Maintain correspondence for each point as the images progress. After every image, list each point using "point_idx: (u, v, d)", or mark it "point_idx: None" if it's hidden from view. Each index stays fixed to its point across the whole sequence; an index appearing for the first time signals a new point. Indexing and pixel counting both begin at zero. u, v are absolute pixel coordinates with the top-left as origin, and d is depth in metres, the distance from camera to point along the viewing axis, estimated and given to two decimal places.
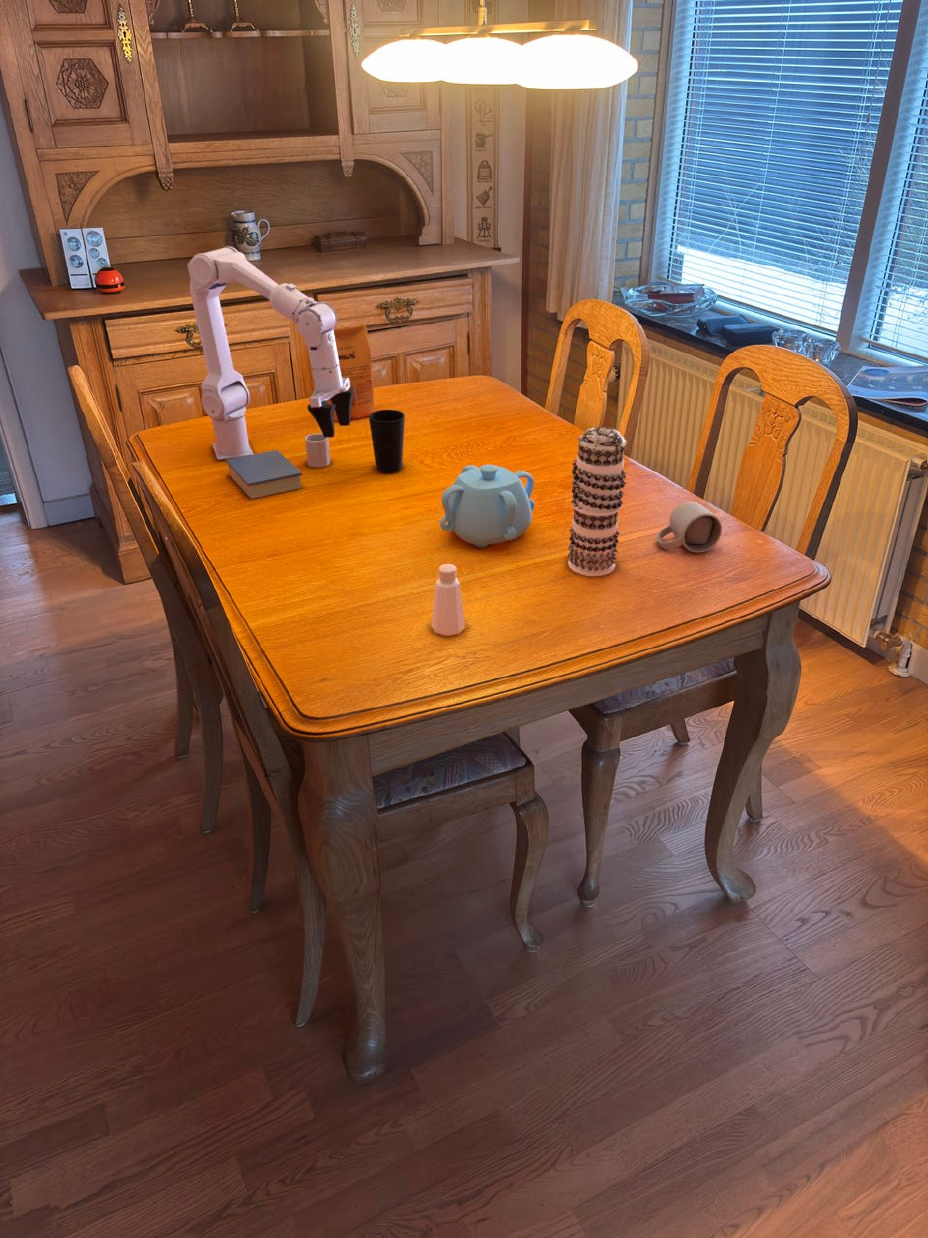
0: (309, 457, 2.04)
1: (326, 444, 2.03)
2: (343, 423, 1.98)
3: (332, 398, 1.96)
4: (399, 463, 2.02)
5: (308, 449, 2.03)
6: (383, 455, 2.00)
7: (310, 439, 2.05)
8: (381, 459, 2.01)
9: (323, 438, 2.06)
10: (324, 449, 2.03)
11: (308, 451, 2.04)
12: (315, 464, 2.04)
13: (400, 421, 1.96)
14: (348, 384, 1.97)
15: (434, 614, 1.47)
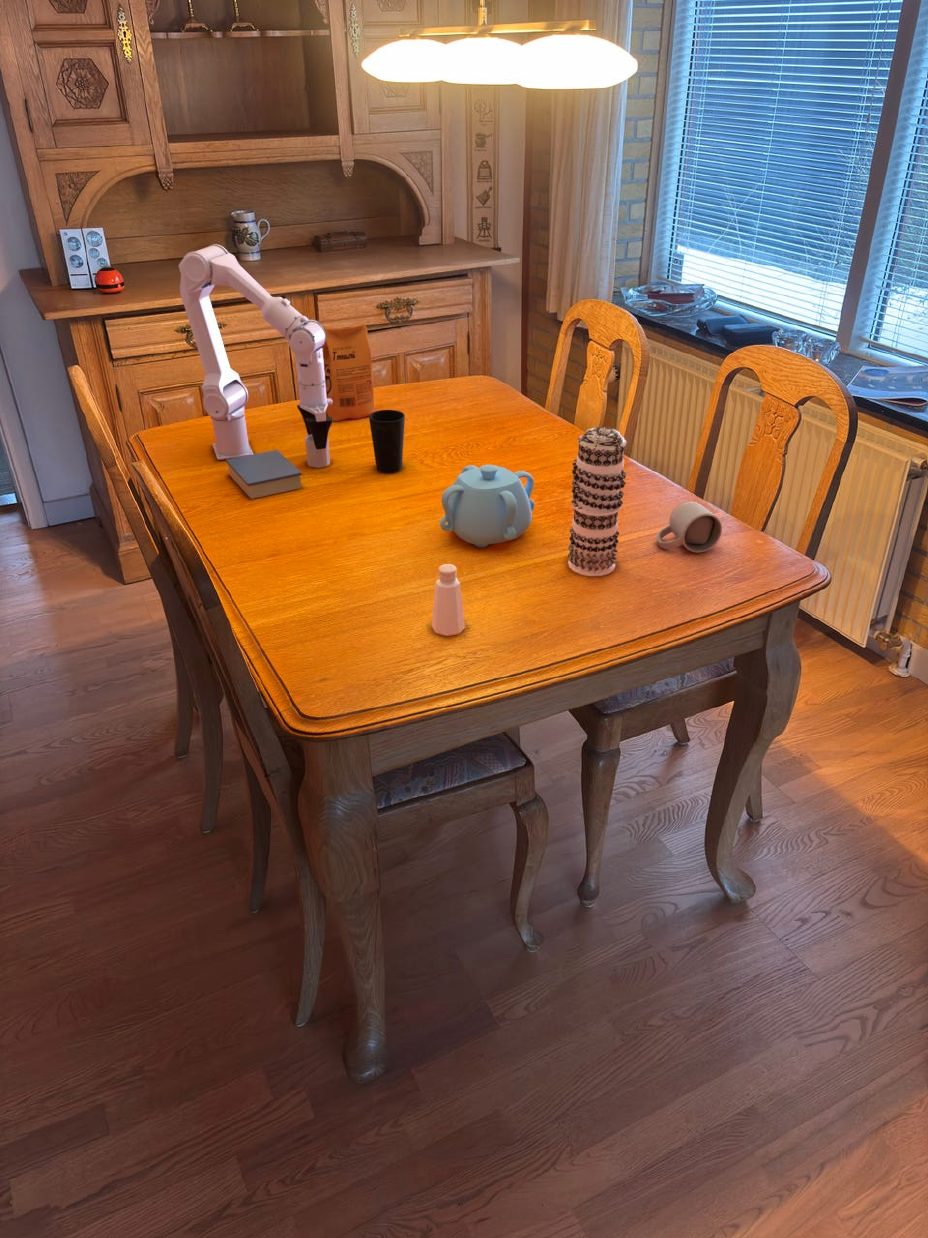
0: (309, 457, 2.04)
1: None
2: None
3: (303, 412, 2.04)
4: (399, 463, 2.02)
5: (308, 449, 2.03)
6: (383, 455, 2.00)
7: (310, 439, 2.05)
8: (381, 459, 2.01)
9: None
10: (324, 449, 2.03)
11: (308, 451, 2.04)
12: (315, 464, 2.04)
13: (400, 421, 1.96)
14: None
15: (434, 614, 1.47)
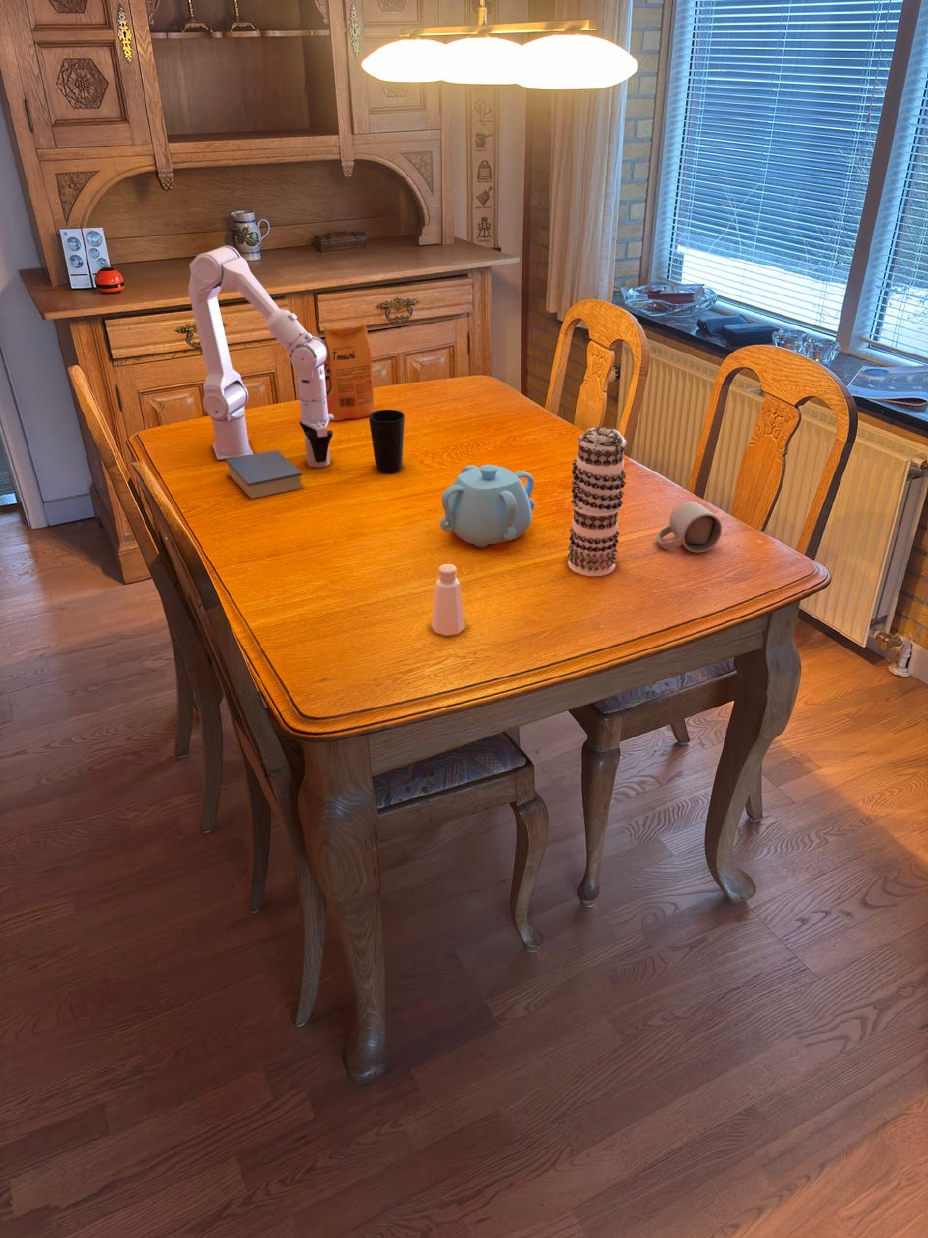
0: (309, 457, 2.04)
1: None
2: None
3: (305, 428, 2.05)
4: (399, 463, 2.02)
5: (308, 449, 2.03)
6: (383, 455, 2.00)
7: None
8: (381, 459, 2.01)
9: None
10: None
11: (308, 451, 2.04)
12: (315, 464, 2.04)
13: (400, 421, 1.96)
14: None
15: (434, 614, 1.47)
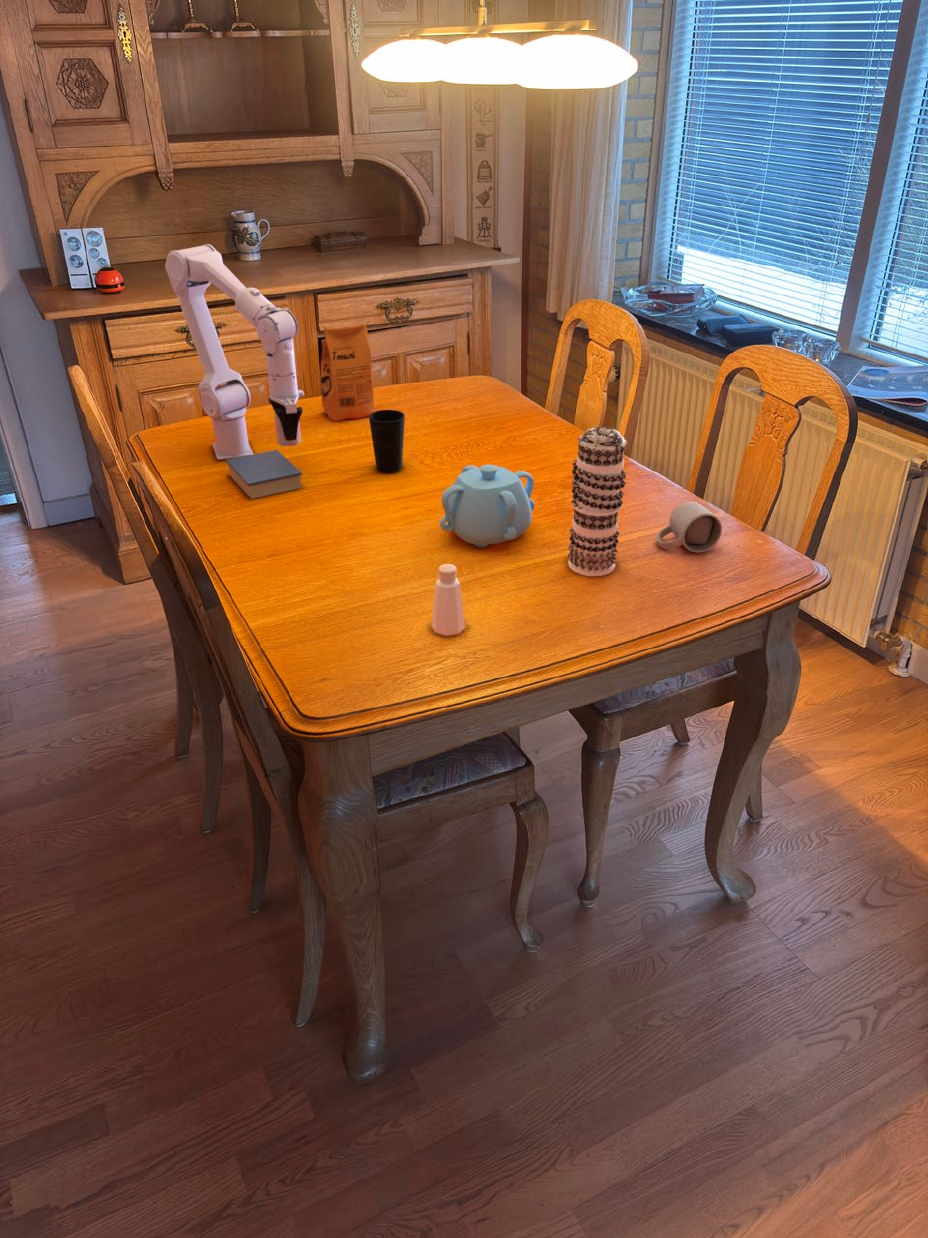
0: (279, 435, 1.96)
1: None
2: None
3: (274, 405, 1.97)
4: (399, 463, 2.02)
5: (278, 427, 1.95)
6: (383, 455, 2.00)
7: None
8: (381, 459, 2.01)
9: None
10: None
11: (278, 429, 1.96)
12: (285, 442, 1.97)
13: (400, 421, 1.96)
14: None
15: (434, 614, 1.47)
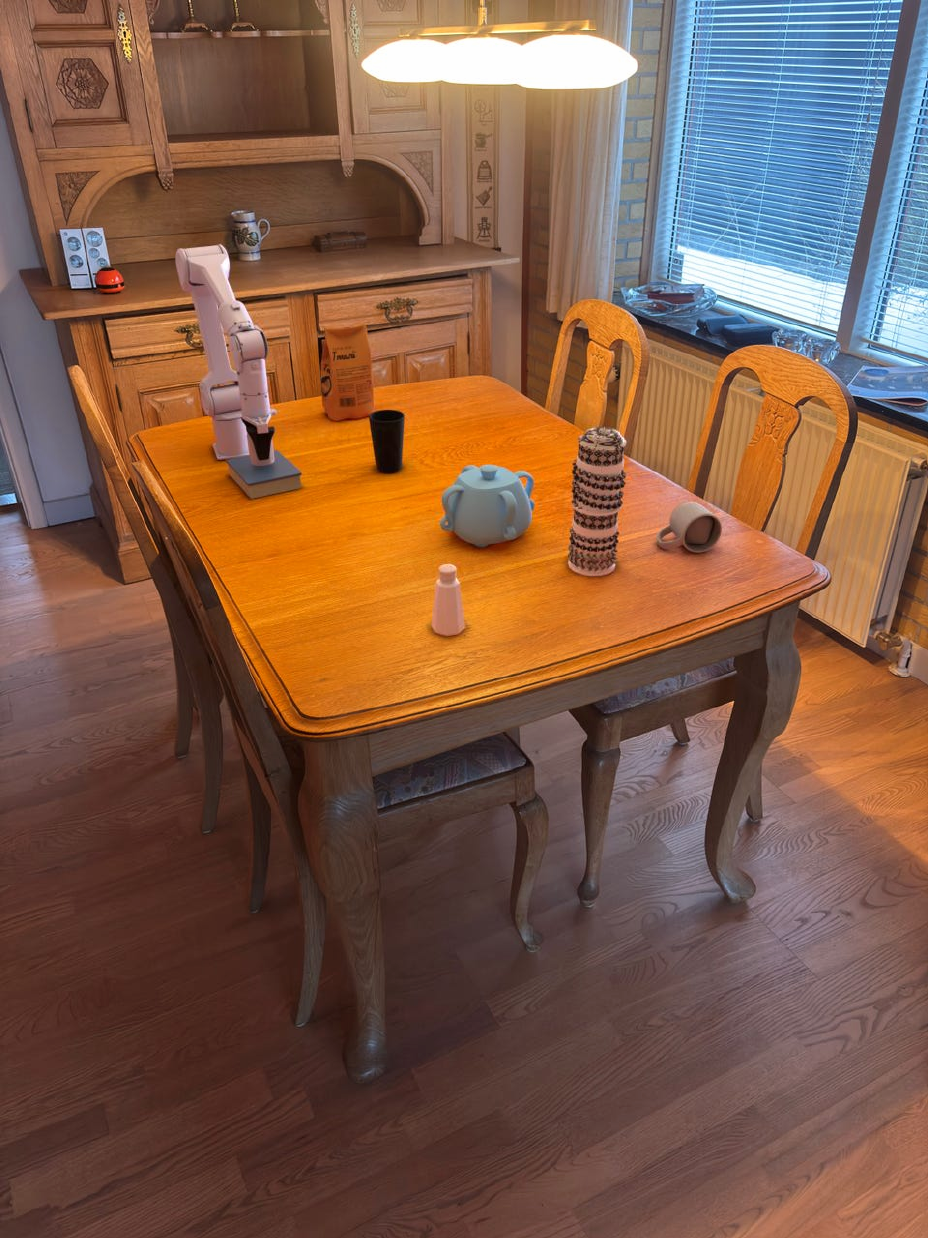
0: (251, 455, 1.93)
1: None
2: None
3: (247, 424, 1.94)
4: (399, 463, 2.02)
5: (250, 446, 1.92)
6: (383, 455, 2.00)
7: None
8: (381, 459, 2.01)
9: None
10: None
11: (250, 448, 1.93)
12: (258, 462, 1.93)
13: (400, 421, 1.96)
14: None
15: (434, 614, 1.47)
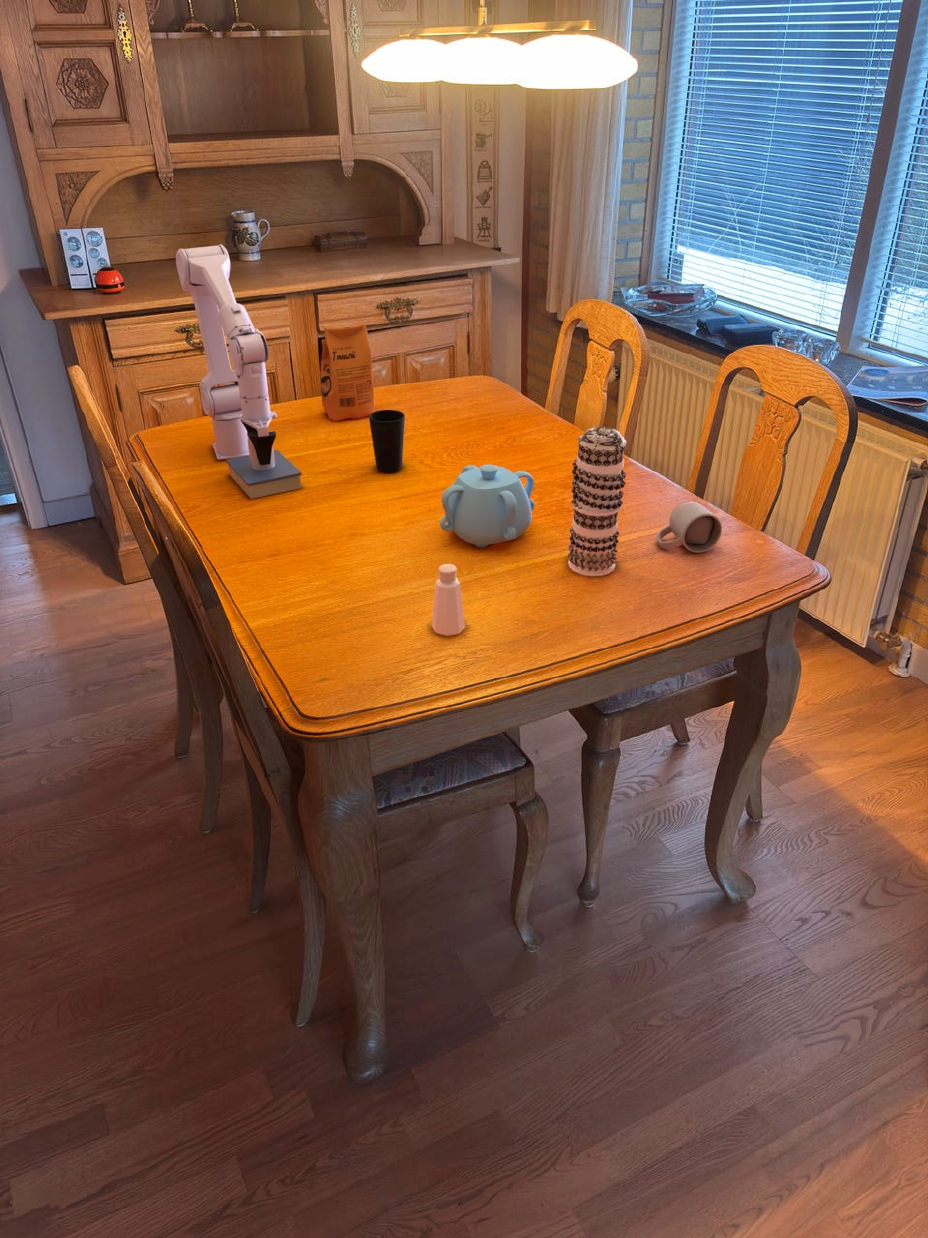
0: (252, 459, 1.94)
1: None
2: None
3: (247, 426, 1.95)
4: (399, 463, 2.02)
5: (251, 451, 1.93)
6: (383, 455, 2.00)
7: None
8: (381, 459, 2.01)
9: None
10: None
11: (251, 453, 1.93)
12: (258, 467, 1.94)
13: (400, 421, 1.96)
14: None
15: (434, 614, 1.47)
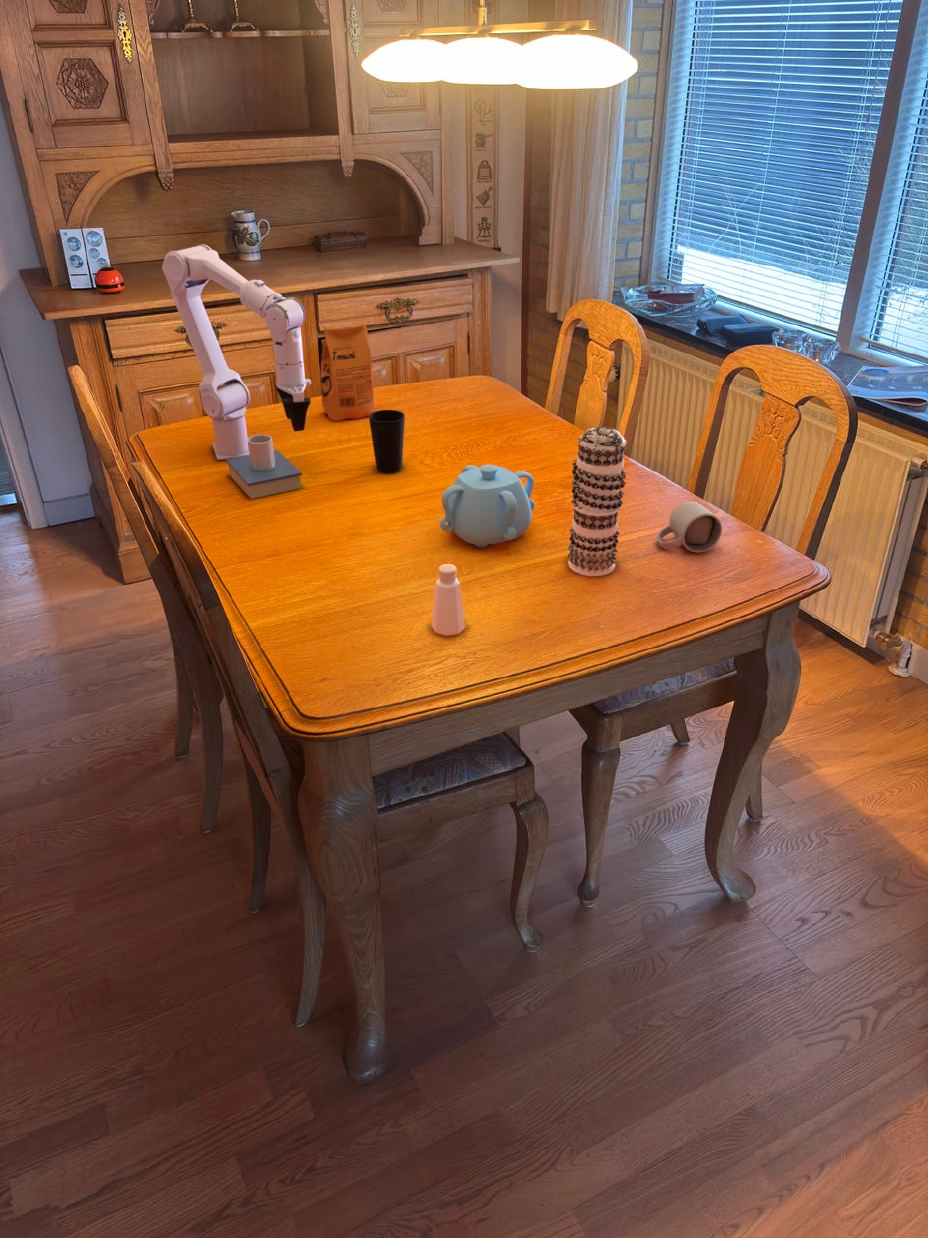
0: (252, 459, 1.94)
1: (270, 446, 1.93)
2: None
3: (281, 392, 1.98)
4: (399, 463, 2.02)
5: (251, 451, 1.93)
6: (383, 455, 2.00)
7: (253, 440, 1.95)
8: (381, 459, 2.01)
9: (267, 439, 1.95)
10: (267, 451, 1.93)
11: (251, 453, 1.93)
12: (258, 467, 1.94)
13: (400, 421, 1.96)
14: None
15: (434, 614, 1.47)
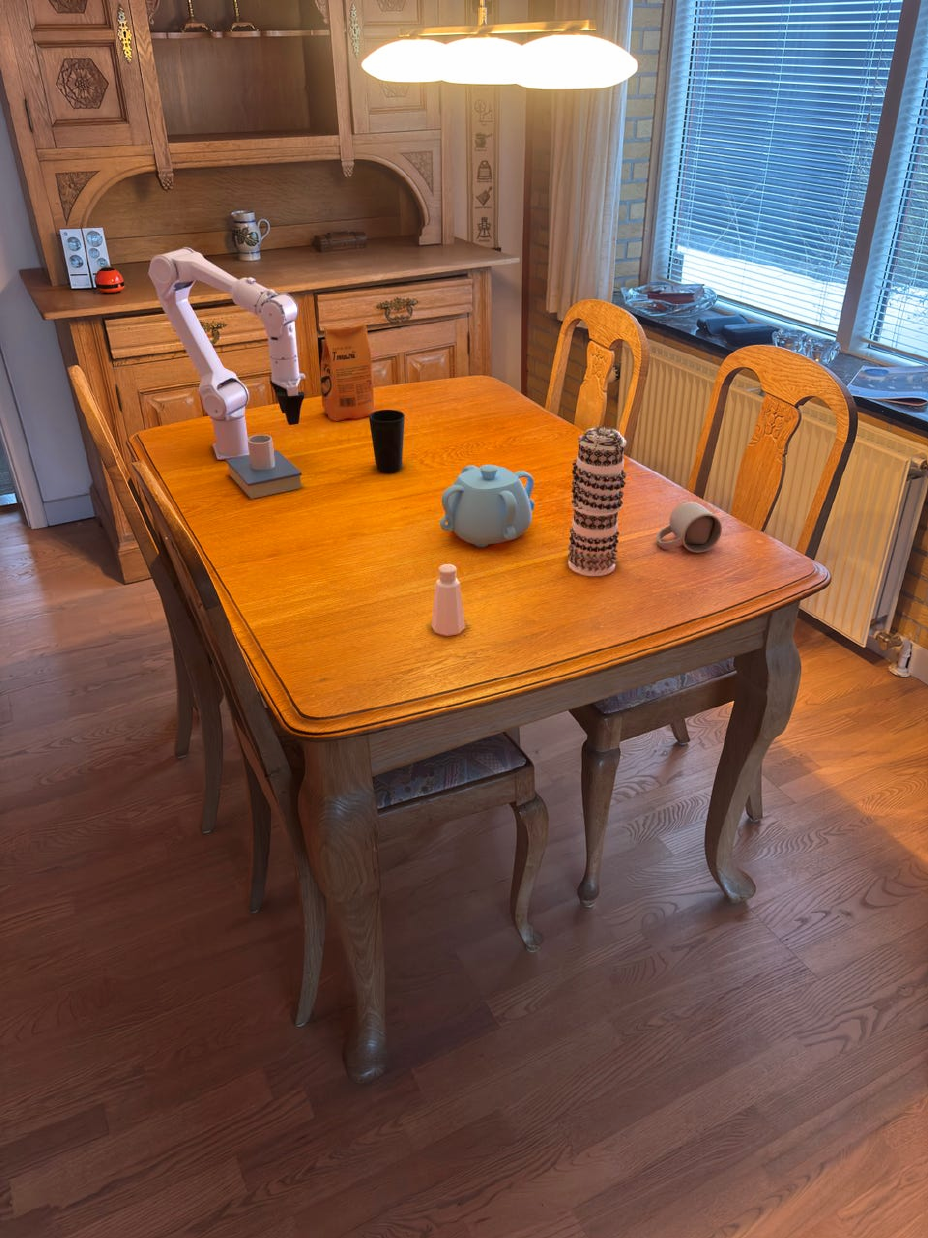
0: (252, 459, 1.94)
1: (270, 446, 1.93)
2: None
3: (276, 387, 2.01)
4: (399, 463, 2.02)
5: (251, 451, 1.93)
6: (383, 455, 2.00)
7: (253, 440, 1.95)
8: (381, 459, 2.01)
9: (267, 439, 1.95)
10: (267, 451, 1.93)
11: (251, 453, 1.93)
12: (258, 467, 1.94)
13: (400, 421, 1.96)
14: None
15: (434, 614, 1.47)
